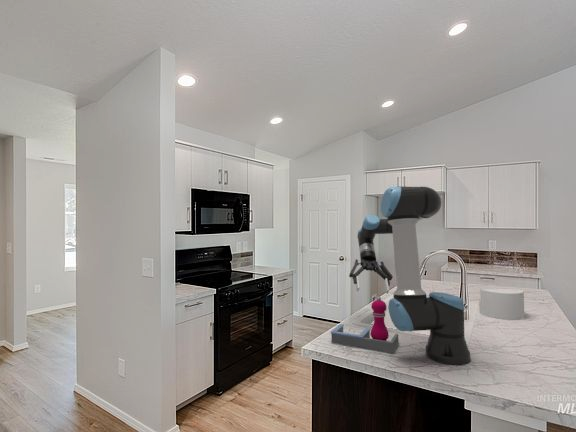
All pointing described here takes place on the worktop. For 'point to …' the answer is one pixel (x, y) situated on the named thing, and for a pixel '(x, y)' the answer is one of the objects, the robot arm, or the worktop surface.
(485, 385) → the worktop surface
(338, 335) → the divider rack
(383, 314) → the pepper mill
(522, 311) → the container
